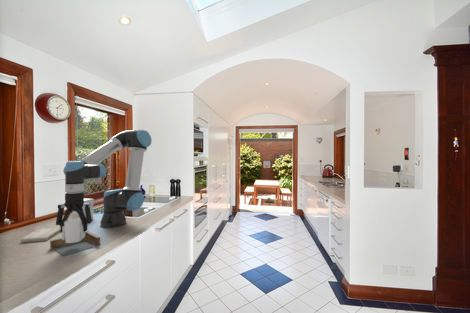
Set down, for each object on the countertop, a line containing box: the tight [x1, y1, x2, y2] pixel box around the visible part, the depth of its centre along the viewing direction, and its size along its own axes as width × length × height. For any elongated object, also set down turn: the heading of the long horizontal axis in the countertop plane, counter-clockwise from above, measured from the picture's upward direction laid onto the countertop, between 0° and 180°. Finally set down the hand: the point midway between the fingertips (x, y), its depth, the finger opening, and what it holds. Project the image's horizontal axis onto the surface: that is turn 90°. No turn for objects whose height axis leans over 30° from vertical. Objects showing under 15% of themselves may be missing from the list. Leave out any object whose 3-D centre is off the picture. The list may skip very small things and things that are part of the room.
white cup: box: [64, 218, 83, 244], centre depth 105 cm, size 8×8×10 cm
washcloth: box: [20, 226, 61, 244], centre depth 121 cm, size 12×18×3 cm, turn 16°
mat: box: [54, 240, 93, 257], centre depth 105 cm, size 12×12×1 cm
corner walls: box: [49, 230, 101, 250], centre depth 107 cm, size 16×14×4 cm
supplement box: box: [71, 197, 94, 220], centre depth 151 cm, size 9×9×15 cm
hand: (73, 238), depth 105 cm, fingers closed on white cup, 7 cm apart
